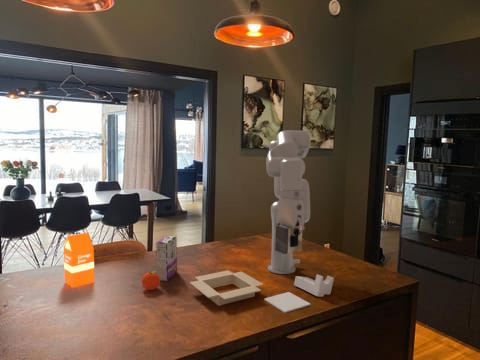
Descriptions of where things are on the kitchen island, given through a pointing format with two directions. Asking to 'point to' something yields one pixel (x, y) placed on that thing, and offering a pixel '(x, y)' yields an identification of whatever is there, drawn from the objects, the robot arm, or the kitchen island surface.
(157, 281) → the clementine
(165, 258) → the candy bar box
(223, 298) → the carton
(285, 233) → the birch box
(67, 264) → the orange juice
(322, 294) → the bracket
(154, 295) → the kitchen island surface
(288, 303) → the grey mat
